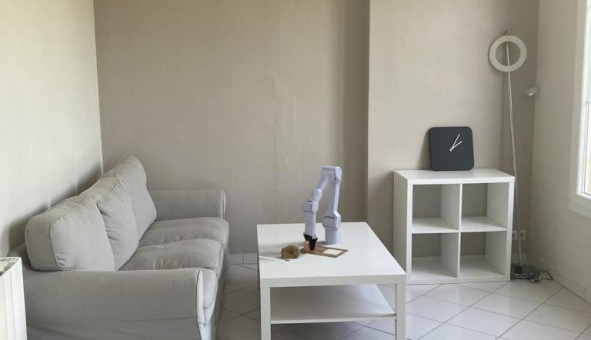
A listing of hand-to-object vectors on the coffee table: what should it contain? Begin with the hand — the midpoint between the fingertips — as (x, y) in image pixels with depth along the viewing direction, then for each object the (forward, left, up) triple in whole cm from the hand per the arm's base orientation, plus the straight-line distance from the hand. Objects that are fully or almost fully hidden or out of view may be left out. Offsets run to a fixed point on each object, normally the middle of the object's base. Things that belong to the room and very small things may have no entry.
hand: (310, 248), depth 322 cm
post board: (-2, +6, -2) cm, 7 cm away
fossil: (+16, -3, -2) cm, 16 cm away
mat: (-2, +12, -2) cm, 12 cm away
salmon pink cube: (0, 0, -1) cm, 1 cm away
